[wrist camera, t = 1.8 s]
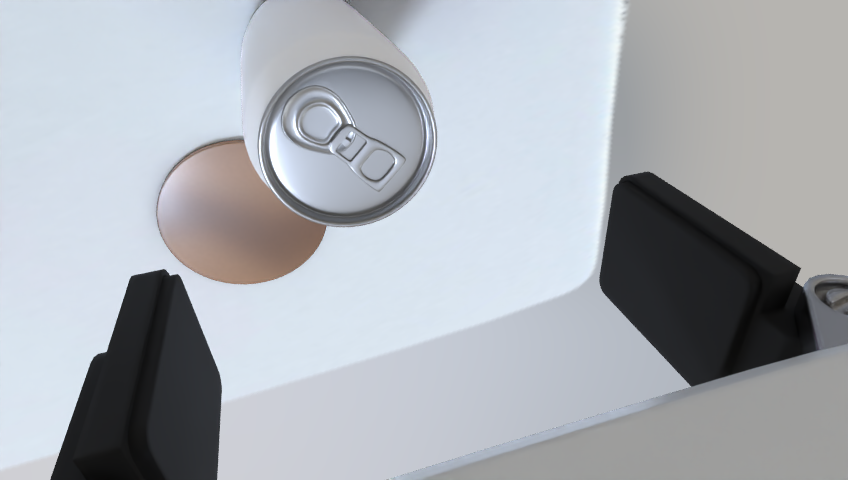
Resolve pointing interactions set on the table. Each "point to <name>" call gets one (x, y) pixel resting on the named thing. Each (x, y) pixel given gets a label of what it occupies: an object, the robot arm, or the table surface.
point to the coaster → (231, 219)
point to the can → (333, 113)
